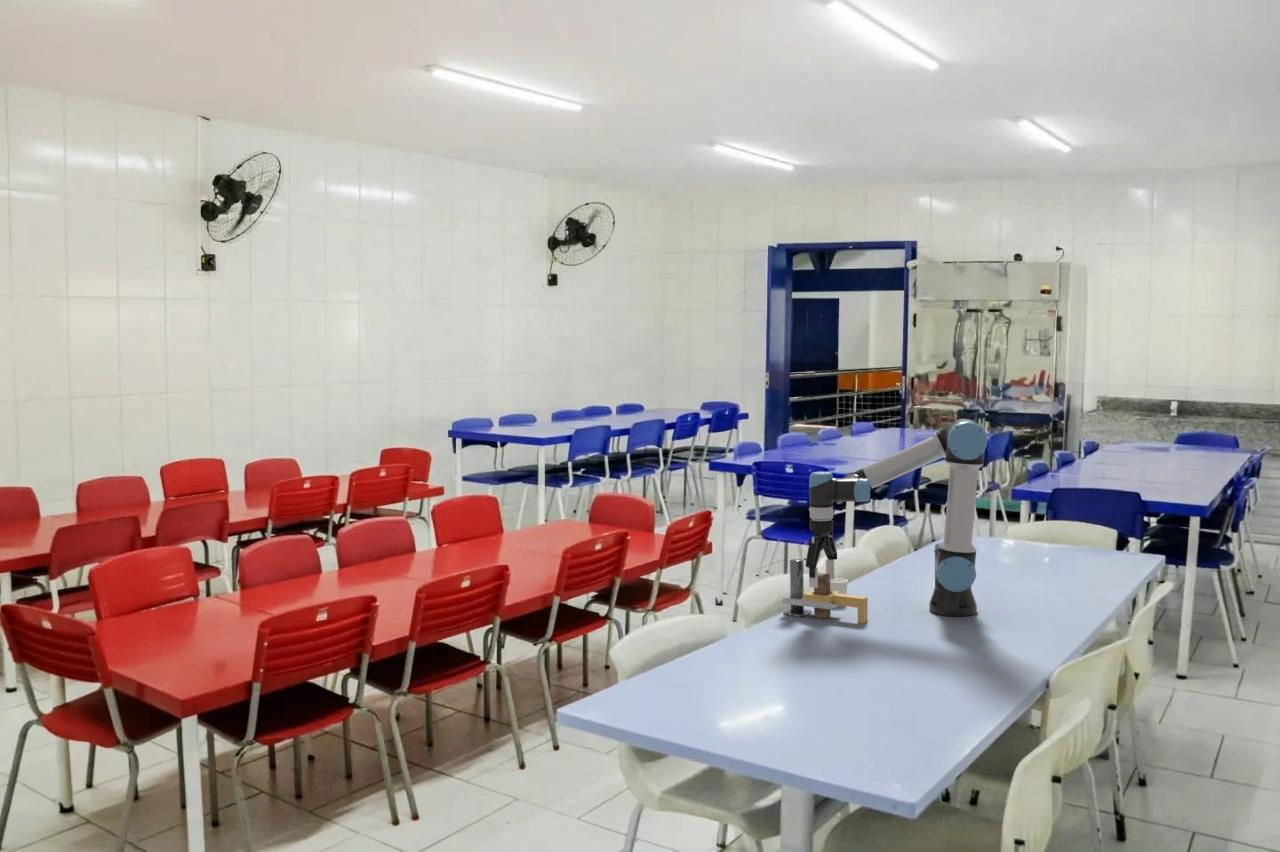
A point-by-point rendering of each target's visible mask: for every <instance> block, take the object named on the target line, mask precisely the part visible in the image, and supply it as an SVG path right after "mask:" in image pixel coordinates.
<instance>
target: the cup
mask: <svg viewBox="0 0 1280 852" xmlns="http://www.w3.org/2000/svg"><path fill="white" fill-rule="evenodd" d="M848 584H849V580H848V579H846V578H840V577H838V578H837V577H835V579H834V580H833V579H830V590H832V591H840V594H847V593H848Z"/></svg>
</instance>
